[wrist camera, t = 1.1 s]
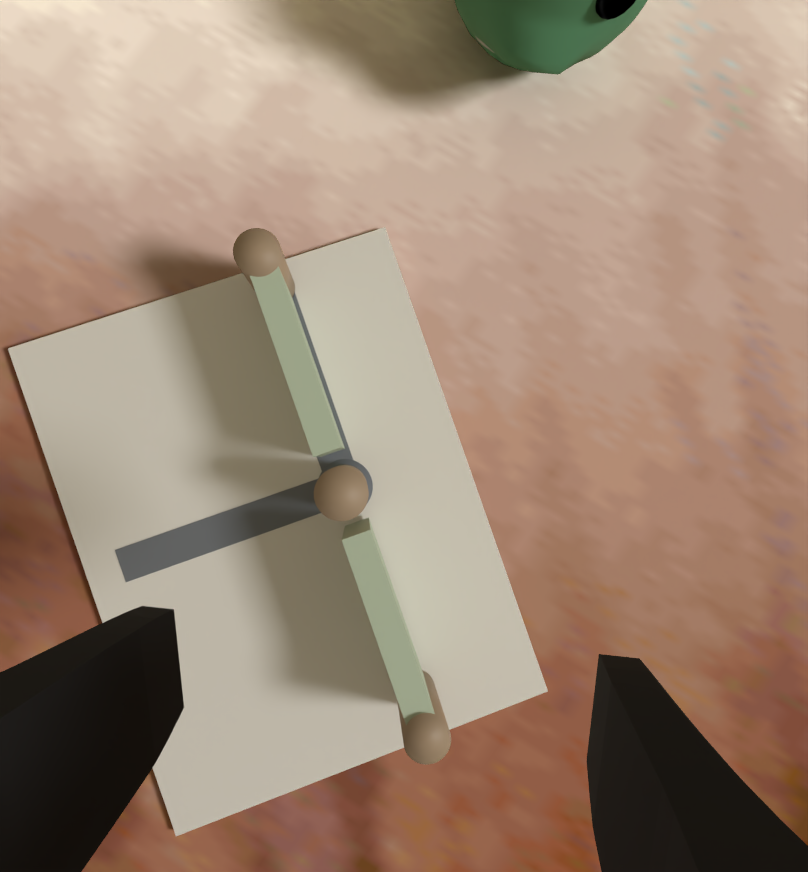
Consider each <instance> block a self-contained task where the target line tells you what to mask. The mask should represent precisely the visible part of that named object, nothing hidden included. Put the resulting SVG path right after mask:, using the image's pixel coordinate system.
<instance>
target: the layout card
mask: <svg viewBox="0 0 808 872" xmlns="http://www.w3.org/2000/svg"><path fill="white" fill-rule="evenodd" d="M285 260H286V262H287V265H288V267H289V270H290V273H291V275H292V278H293V280H294V284H295V293H294V296H293V298H292V299H293V301H294V304H295V307H296V310H297V313H298V316H299V319H300V321H301V324H302V327H303V330H304V333H305V336H306V339H307V341H308V344H309V347H310V350H311V353H312V356H313V359H314V361H315V364H316V367H317V370H318V373H319V376H320V379H321V381H322V384H323V387H324V390H325V393H326V396H327V399H328V402H329V404H330V407H331V410H332V413H333V416H334V419H335V422H336V424H337V427H338V430H339V433H340V436H341V439H342V442H343V444H344V447H345V449H342V450H340V451H337V452H334V453H331V454H328V455H325V456H322V457H313V455H312V452H311V450H310V447H309V444H308V441H307V438H306V435H305V432H304V430H303V427H302V424H301V421H300V418H299V415H298V412H297V409H296V407H295V404H294V401H293V398H292V395H291V392H290V389H289V387H288V384H287V381H286V378H285V375H284V372H283V369H282V366H281V364H280V361H279V358H278V355H277V352H276V349H275V346H274V344H273V341H272V338H271V335H270V332H269V329H268V326H267V323H266V321H265V318H264V315H263V312H262V309H261V306H260V303H259V301H258V298H257V295H256V293H255V291H254V290H253V288H252V287H251V285H250V283H249V282H248V280H247V279H246V277H245V276H244V274H243V273H241V274H238V275H235V276H232V277H228V278H225V279H222V280H219V281H216V282H213V283H210V284H207V285H204V286H200V287H197V288H194V289H191V290H188V291H185V292H182V293H179V294H176V295H172V296H169V297H166V298H163V299H160V300H157V301H154V302H151V303H148V304H144V305H141V306H138V307H135V308H132V309H129V310H126V311H123V312H120V313H117V314H113V315H110V316H107V317H104V318H101V319H98V320H95V321H92V322H89V323H85V324H82V325H79V326H76V327H73V328H70V329H67V330H64V331H61V332H57V333H54V334H51V335H48V336H45V337H42V338H39V339H36V340H33V341H30V342H26V343H23V344H20V345H17V346H14V347H11V348H8V351H9V354H10V357H11V359H12V362H13V365H14V368H15V371H16V374H17V377H18V380H19V383H20V385H21V388H22V391H23V394H24V397H25V400H26V403H27V406H28V409H29V412H30V414H31V417H32V420H33V423H34V426H35V429H36V432H37V435H38V438H39V441H40V443H41V446H42V449H43V452H44V455H45V458H46V461H47V464H48V467H49V470H50V472H51V475H52V478H53V481H54V484H55V487H56V490H57V493H58V496H59V498H60V501H61V504H62V507H63V510H64V513H65V516H66V519H67V522H68V525H69V527H70V530H71V533H72V536H73V539H74V542H75V545H76V548H77V551H78V554H79V556H80V559H81V562H82V565H83V568H84V571H85V574H86V577H87V580H88V582H89V585H90V588H91V591H92V594H93V597H94V600H95V603H96V606H97V609H98V611H99V614H100V617H101V620H102V623H104V622H106V621H108V620H110V619H112V618H114V617H116V616H119V615H121V614H123V613H125V612H128V611H130V610H133V609H135V608H138V607H140V606H148V607H157V608H167V609H174V615H175V624H176V634H177V644H178V653H179V663H180V673H181V682H182V692H183V701H184V709H183V711H182V713H181V715H180V717H179V719H178V721H177V723H176V725H175V727H174V729H173V731H172V733H171V735H170V737H169V739H168V741H167V743H166V745H165V746H164V748H163V750H162V752H161V754H160V756H159V758H158V759H157V761H156V763H155V765H154V766H153V771H154V774H155V777H156V779H157V782H158V785H159V788H160V791H161V794H162V797H163V800H164V803H165V806H166V808H167V811H168V814H169V817H170V820H171V823H172V826H173V829H174V832H175V835H176V836H178V835H181V834H183V833H186V832H188V831H191V830H193V829H196V828H199V827H201V826H204V825H206V824H209V823H211V822H214V821H217V820H219V819H222V818H224V817H227V816H229V815H232V814H234V813H237V812H240V811H242V810H245V809H247V808H250V807H252V806H255V805H258V804H260V803H263V802H265V801H268V800H270V799H273V798H275V797H278V796H281V795H283V794H286V793H288V792H291V791H293V790H296V789H299V788H301V787H304V786H306V785H309V784H311V783H314V782H317V781H319V780H322V779H324V778H327V777H329V776H332V775H334V774H337V773H340V772H342V771H345V770H347V769H350V768H352V767H355V766H358V765H360V764H363V763H365V762H368V761H370V760H373V759H375V758H378V757H381V756H383V755H386V754H388V753H391V752H393V751H396V750H399V749H401V748H404V743H403V737H402V730H401V723H400V716H399V710H398V703H397V698H396V695H395V692H394V689H393V686H392V683H391V680H390V677H389V675H388V672H387V669H386V666H385V663H384V660H383V657H382V655H381V652H380V649H379V646H378V643H377V640H376V637H375V634H374V632H373V629H372V626H371V623H370V620H369V617H368V614H367V612H366V609H365V606H364V603H363V600H362V597H361V594H360V591H359V589H358V586H357V583H356V580H355V577H354V574H353V571H352V569H351V566H350V563H349V560H348V557H347V554H346V551H345V548H344V546H343V543H342V536H343V532H344V528H345V526H346V525H349V524H351V523H354V522H357V521H360V520H363V519H365V518H368V517H369V519H370V522H371V525H372V528H373V531H374V533H375V536H376V539H377V542H378V545H379V548H380V551H381V554H382V556H383V559H384V562H385V565H386V568H387V571H388V574H389V576H390V579H391V582H392V585H393V588H394V591H395V594H396V596H397V599H398V602H399V605H400V608H401V611H402V614H403V616H404V619H405V622H406V625H407V628H408V631H409V634H410V637H411V639H412V642H413V645H414V648H415V651H416V654H417V657H418V659H419V662H420V665H421V668H422V670H423V671H425V672H427V673H428V674H429V675H430V676H431V677H432V679H433V681H434V684H435V687H436V690H437V693H438V696H439V699H440V703H441V706H442V709H443V712H444V715H445V718H446V721H447V724H448V727H449V730H450V729H452V728H455V727H458V726H460V725H463V724H465V723H468V722H470V721H473V720H475V719H478V718H481V717H483V716H486V715H488V714H491V713H493V712H496V711H499V710H501V709H504V708H506V707H509V706H511V705H514V704H517V703H519V702H522V701H524V700H527V699H529V698H532V697H534V696H537V695H540V694H542V693H545V692H547V691H548V690H547V687H546V685H545V682H544V679H543V676H542V673H541V670H540V667H539V665H538V662H537V659H536V656H535V653H534V650H533V647H532V645H531V642H530V639H529V636H528V633H527V630H526V628H525V625H524V622H523V619H522V616H521V613H520V610H519V608H518V605H517V602H516V599H515V596H514V593H513V591H512V588H511V585H510V582H509V579H508V576H507V573H506V571H505V568H504V565H503V562H502V559H501V556H500V554H499V551H498V548H497V545H496V542H495V539H494V536H493V534H492V531H491V528H490V525H489V522H488V519H487V516H486V514H485V511H484V508H483V505H482V502H481V499H480V497H479V494H478V491H477V488H476V485H475V482H474V479H473V477H472V474H471V471H470V468H469V465H468V462H467V460H466V457H465V454H464V451H463V448H462V445H461V442H460V440H459V437H458V434H457V431H456V428H455V425H454V422H453V420H452V417H451V414H450V411H449V408H448V405H447V403H446V400H445V397H444V394H443V391H442V388H441V385H440V383H439V380H438V377H437V374H436V371H435V368H434V366H433V363H432V360H431V357H430V354H429V351H428V348H427V346H426V343H425V340H424V337H423V334H422V331H421V329H420V326H419V323H418V320H417V317H416V314H415V311H414V309H413V306H412V303H411V300H410V297H409V294H408V291H407V289H406V286H405V283H404V280H403V277H402V274H401V272H400V269H399V266H398V263H397V260H396V257H395V254H394V252H393V249H392V246H391V243H390V240H389V237H388V235H387V232H386V229H385V227H384V228H381V229H378V230H374V231H371V232H368V233H365V234H362V235H359V236H356V237H353V238H350V239H346V240H343V241H340V242H337V243H334V244H331V245H328V246H325V247H322V248H319V249H315V250H312V251H309V252H306V253H303V254H300V255H297V256H294V257H291V258H287V259H285ZM339 465H351V466H354V467H356V468H358V469H359V470H360V471H361V472H362V473H363V474H364V476H365V478H366V481H367V485H368V491H369V496H368V502H367V504H366V506H365V508H364V510H363V511H362V512H361V513H360V514H359V515H358V516H357V517H355V518H353V519H351V520H347V521H335V520H331V519H329V518H327V517H326V516H324V515H323V514H322V513H321V512H320V511H319V509H318V508H317V506H316V504H315V500H314V488H315V485H316V482H317V480H318V479H319V477H320V476H321V475H322V474H323V473H324V472H326V471H327V470H329V469H331V468H334V467H336V466H339Z"/></svg>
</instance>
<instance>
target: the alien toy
mask: <svg viewBox="0 0 808 872" xmlns="http://www.w3.org/2000/svg"><path fill="white" fill-rule="evenodd" d="M646 2H647V0H455V4H456V7H457V10H458V12H459V14H460V16H461V18H462V20H463V22H464V23H465V25H466V27H467V29H468V31H469V33H470V34H471V36H472V37H473V38H474V39H476V40H477V42H478V43H479V44H480V45H481V46H482V47H483V48H484V49H485V51H486V52H487V53H488V54H490V55H491V56H492V57H494V58H495V59H497V60H498V61H500V62H501V63H503V64H505V65H508V66H511V67H513V68H516V69H519V70H524V71H530V72H537V73H548V74H560V73H562V72H563V71H564V70H566V69H568V68H569V67H571V66H572V65H574V64H576V63H578V62H580V61H583V60H585V59H587V58H590V57H591V56H593V55H595V54H597V53H598V52H600V51H601V50H602V49H603V48H604V47H606V46H607V45H608V44H609V43H610V42H611V41H613V40H614V39H615V38H616V37H617V36H618V35H619V34H620V33H622V32H623V31H624V30H625V29H626V28H627V27H628V26H629V25H630V24H631V23H632V21H633V20H634V19H635V18H636V16H637V15H638V14H639V12H640V11H641V9H642V8H643V7H644V5H645V3H646Z"/></svg>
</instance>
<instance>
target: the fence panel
mask: <svg viewBox="0 0 808 872" xmlns="http://www.w3.org/2000/svg"><path fill="white" fill-rule="evenodd" d="M342 543H343V546H344V548H345V551H346V554H347V557H348V560H349V563H350V566H351V569H352V571H353V574H354V577H355V580H356V583H357V586H358V589H359V591H360V594H361V597H362V600H363V603H364V606H365V609H366V612H367V614H368V617H369V620H370V623H371V626H372V629H373V632H374V634H375V637H376V640H377V643H378V646H379V649H380V652H381V655H382V657H383V660H384V663H385V666H386V669H387V672H388V675H389V677H390V680H391V683H392V686H393V689H394V692H395V695H396V698H397V703H398V710H399V716H400V723H401V730H402V737H403V743H404V748H405V751H406V753H407V754H408V756H409V757H410V758H411V759H412V760H414V761H415V762H417V763H420V764H433V763H436V762H438V761H440V760H441V759H442V758H443V757H444V756H445V755H446V754H447V752H448V750H449V748H450V745H451V734H450V730H449V727H448V724H447V721H446V718H445V715H444V712H443V709H442V706H441V703H440V699H439V696H438V693H437V690H436V687H435V684H434V681H433V679H432V677H431V676H430V675H429V674H428V673H427V672H425V671H423V670H422V668H421V665H420V662H419V659H418V657H417V654H416V651H415V648H414V645H413V642H412V639H411V637H410V634H409V631H408V628H407V625H406V622H405V619H404V616H403V614H402V611H401V608H400V605H399V602H398V599H397V596H396V594H395V591H394V588H393V585H392V582H391V579H390V576H389V574H388V571H387V568H386V565H385V562H384V559H383V556H382V554H381V551H380V548H379V545H378V542H377V539H376V536H375V533H374V531H373V528H372V525H371V522H370V519H369V517H368V518H365V519H363V520H360V521H357V522H354V523H351V524H349V525H346V526H345V528H344V532H343V536H342Z"/></svg>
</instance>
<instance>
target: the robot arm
mask: <svg viewBox="0 0 808 872" xmlns="http://www.w3.org/2000/svg"><path fill="white" fill-rule="evenodd" d="M183 709H184V701H183V692H182V682H181V673H180V663H179V653H178V644H177V634H176V624H175V615H174V609H167V608H157V607H148V606H140V607H138V608H135V609H133V610H130V611H128V612H125V613H123V614H121V615H119V616H116V617H114V618H112V619H110V620H108V621H106V622H104V623H101V624H99V625H97V626H95V627H93V628H91V629H89V630H87V631H85V632H83V633H81V634H79V635H77V636H75V637H73V638H71V639H69V640H67V641H65V642H63V643H61V644H59V645H57V646H55V647H53V648H50V649H48V650H46V651H44V652H42V653H40V654H38V655H36V656H34V657H32V658H30V659H28V660H26V661H24V662H22V663H20V664H18V665H16V666H14V667H11V668H9V669H7V670H5V671H3V672H0V872H81V871H82V870H83V868H84V867H85V866H86V864H87V863H88V861H89V860H90V858H91V857H92V855H93V854H94V853H95V851H96V850H97V848H98V847H99V845H100V844H101V842H102V841H103V840H104V838H105V837H106V835H107V834H108V832H109V831H110V829H111V828H112V827H113V825H114V824H115V822H116V821H117V819H118V818H119V816H120V815H121V814H122V812H123V811H124V809H125V808H126V806H127V805H128V803H129V802H130V800H131V799H132V797H133V796H134V794H135V793H136V792H137V790H138V789H139V787H140V786H141V784H142V783H143V781H144V780H145V778H146V777H147V775H148V774H149V772H150V771H151V769H152V768H153V766H154V765H155V763H156V761H157V759H158V758H159V756H160V754H161V752H162V750H163V748H164V746H165V745H166V743H167V741H168V739H169V737H170V735H171V733H172V731H173V729H174V727H175V725H176V723H177V721H178V719H179V717H180V715H181V713H182V711H183ZM587 770H588V781H589V793H590V803H591V813H592V823H593V830H594V835H595V841H596V846H597V851H598V856H599V861H600V866H601V871H602V872H808V846H807V845H806V844H805V843H804V842H803V841H802V840H801V839H800V838H799V837H798V836H797V835H796V834H795V833H794V832H793V831H792V830H791V829H790V828H789V827H787V826H786V825H785V824H784V823H783V822H782V821H781V820H780V819H779V818H778V817H777V816H776V814H775V813H774V812H773V811H772V810H771V809H770V808H769V807H768V806H767V805H766V804H765V803H764V802H763V801H762V800H761V799H760V798H759V797H758V796H757V795H756V794H755V793H754V792H753V791H752V790H751V789H750V788H749V787H748V786H747V785H746V784H745V783H744V782H743V780H742V779H741V778H740V777H739V776H738V775H737V774H736V773H735V772H734V771H733V770H732V768H731V767H730V766H729V765H728V764H727V763H726V762H725V760H724V759H723V758H722V757H721V756H720V755H719V754H718V752H717V751H716V750H715V749H714V748H713V747H712V746H711V745H710V743H709V742H708V741H707V740H706V739H705V738H704V737H703V735H702V734H701V733H700V732H699V731H698V729H697V728H696V727H695V726H694V725H693V724H692V722H691V721H690V720H689V719H688V717H687V716H686V715H685V714H684V713H683V711H682V710H681V709H680V708H679V707H678V705H677V704H676V703H675V702H674V700H673V699H672V698H671V697H670V695H669V694H668V693H667V692H666V690H665V689H664V688H663V687H662V685H661V684H660V683H659V682H658V680H657V679H656V678H655V677H654V675H653V674H652V673H651V672H650V671H649V669H648V668H647V667H646V666H645V665H644V663H643V662H642V661H641V660H640V659H639V658H629V657H620V656H611V655H601V654H599V659H598V667H597V676H596V685H595V693H594V702H593V710H592V719H591V728H590V736H589V745H588V753H587Z"/></svg>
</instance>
